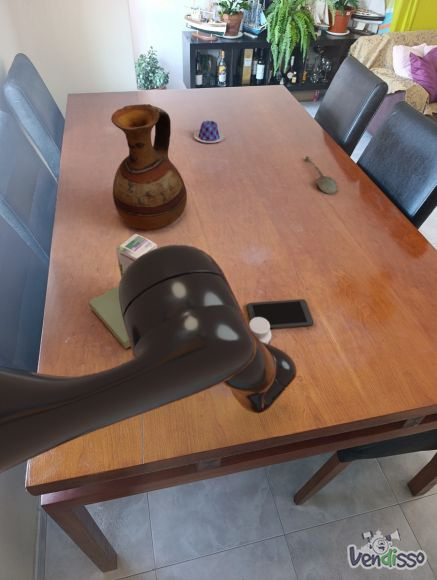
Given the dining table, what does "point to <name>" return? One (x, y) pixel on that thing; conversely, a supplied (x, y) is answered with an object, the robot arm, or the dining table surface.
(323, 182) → the soupspoon
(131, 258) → the syrup box
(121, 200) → the ceramic pitcher
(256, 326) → the pill bottle
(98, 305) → the green flat block
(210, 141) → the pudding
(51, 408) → the robot arm
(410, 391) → the dining table surface
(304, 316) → the cell phone
